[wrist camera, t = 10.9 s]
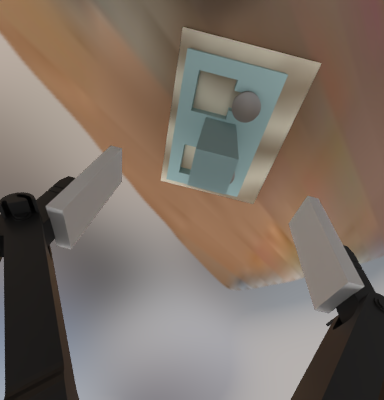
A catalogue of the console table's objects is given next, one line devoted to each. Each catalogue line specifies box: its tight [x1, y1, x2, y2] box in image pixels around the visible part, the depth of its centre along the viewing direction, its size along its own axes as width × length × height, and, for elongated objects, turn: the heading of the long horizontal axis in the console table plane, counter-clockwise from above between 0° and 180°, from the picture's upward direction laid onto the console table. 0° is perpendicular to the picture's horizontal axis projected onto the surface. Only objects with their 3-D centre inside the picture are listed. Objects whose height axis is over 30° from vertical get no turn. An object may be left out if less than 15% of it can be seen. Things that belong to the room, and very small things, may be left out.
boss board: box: [161, 27, 321, 204], centre depth 26 cm, size 18×14×4 cm
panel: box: [166, 48, 288, 197], centre depth 22 cm, size 15×10×10 cm, turn 168°
